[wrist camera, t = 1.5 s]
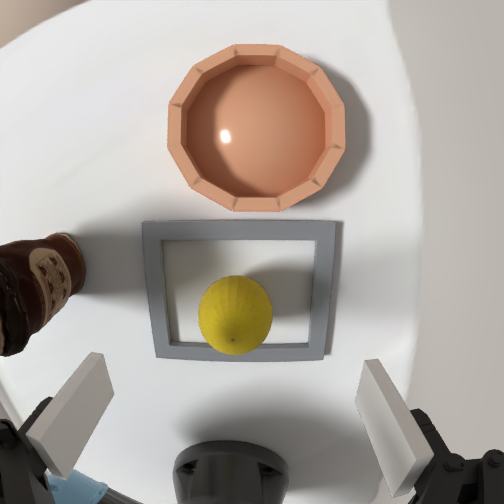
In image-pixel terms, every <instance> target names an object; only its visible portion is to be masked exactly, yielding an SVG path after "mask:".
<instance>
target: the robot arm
mask: <svg viewBox="0 0 504 504" xmlns="http://www.w3.org/2000/svg"><path fill="white" fill-rule="evenodd" d="M113 396H114V391H113V388H112V384H111V381H110V377H109V374H108V370H107V367H106V363H105V359H104V355H103V354H101V353H94V352H91V353H90V354H89V355H88V356H87V357H86V359H85V360H84V361H83V362H82V363H81V365H80V366H79V367H78V368H77V369H76V371H75V372H74V373H73V374H72V376H71V377H70V378H69V379H68V380H67V382H66V383H65V384H64V385H63V387H62V388H61V389H60V390H59V392H58V393H57V394H56V395H55V397H54V398H53V397H48V398H46V399H44V400H43V401H41V402H40V404H39V405H38V406H37V407H36V410H34V411H33V412H32V415H30V416H29V417H28V419H27V420H26V421H25V422H24V424H23V425H22V426H21V428H20V429H19V430H18V431H17V430H16V428H15V427H14V425H13V423H12V422H11V421H9V420H7V419H0V504H143V503H140V502H138V501H136V500H134V499H131V498H129V497H127V496H125V495H123V494H121V493H119V492H117V491H115V490H113V489H111V488H109V487H108V485H107V484H105V483H103V482H97V481H95V480H93V479H91V478H90V477H88V476H86V475H84V474H82V473H80V472H78V471H77V470H74V469H73V467H74V465H75V464H76V462H77V460H78V458H79V456H80V454H81V453H82V451H83V449H84V447H85V445H86V443H87V442H88V440H89V438H90V436H91V434H92V433H93V431H94V429H95V427H96V425H97V424H98V422H99V420H100V418H101V417H102V415H103V413H104V411H105V410H106V408H107V406H108V404H109V403H110V401H111V399H112V398H113ZM355 403H356V406H357V408H358V411H359V413H360V416H361V418H362V421H363V423H364V426H365V428H366V431H367V433H368V436H369V439H370V441H371V444H372V446H373V449H374V452H375V454H376V457H377V459H378V462H379V465H380V467H381V470H382V473H383V475H384V478H385V481H386V484H387V486H388V489H389V492H390V495H391V497H392V498H393V497H397V496H401V495H404V494H407V493H409V492H410V490H411V489H412V488H413V486H414V487H415V490H416V494H415V495H414V496H413V498H412V499H411V500H410V502H409V503H408V504H504V453H503V452H502V451H500V450H496V449H494V450H489V451H488V452H486V453H485V455H484V456H483V457H482V458H481V459H471V460H465V459H464V458H463V457H462V456H460V455H458V454H455V453H451V452H450V451H449V449H448V448H447V446H446V445H445V443H444V441H443V440H442V438H441V436H440V434H439V433H438V431H437V430H436V428H435V426H434V425H433V424H432V422H431V420H430V418H429V417H428V415H427V414H426V413H424V412H423V411H422V410H420V409H414V410H409V409H408V407H407V405H406V404H405V402H404V400H403V399H402V397H401V395H400V394H399V392H398V390H397V389H396V387H395V385H394V384H393V382H392V380H391V379H390V377H389V375H388V374H387V372H386V371H385V369H384V367H383V366H382V364H381V362H380V361H379V359H372V360H364V364H363V369H362V373H361V378H360V382H359V386H358V390H357V394H356V398H355ZM47 468H48V469H49V471H50V472H51V475H50V477H49V478H47V476H46V474H45V471H46V469H47ZM173 482H174V488H175V493H176V498H177V503H178V504H282V503H283V500H284V497H285V494H286V491H287V488H288V482H289V479H288V469H287V466H286V463H285V462H284V461H283V459H282V458H281V457H279V456H278V455H277V454H275V453H274V452H272V451H270V450H268V449H265V448H263V447H260V446H257V445H253V444H248V443H243V442H234V441H213V442H205V443H201V444H197V445H194V446H191V447H189V448H187V449H185V450H184V451H182V452H181V453H180V454H179V455H178V456H177V458H176V461H175V465H174V469H173Z"/></svg>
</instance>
